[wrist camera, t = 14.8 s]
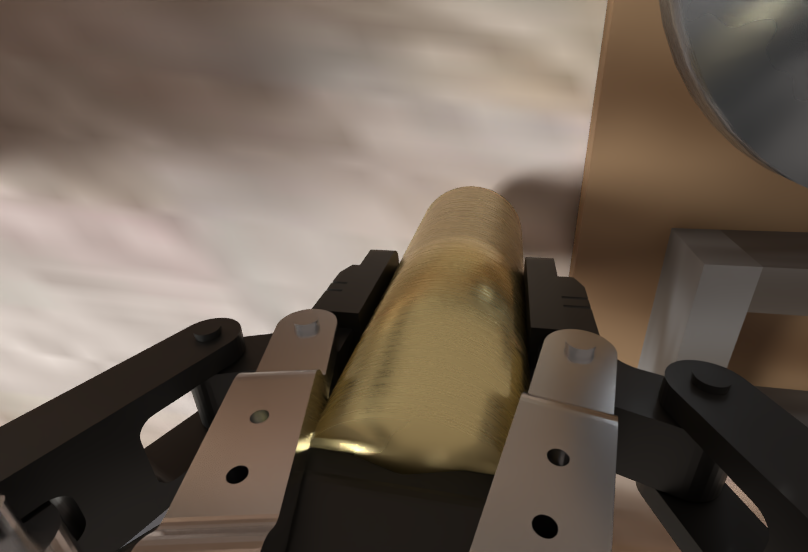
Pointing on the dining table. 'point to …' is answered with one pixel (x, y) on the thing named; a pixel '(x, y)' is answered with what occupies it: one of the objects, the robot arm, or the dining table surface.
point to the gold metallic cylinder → (440, 347)
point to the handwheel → (747, 74)
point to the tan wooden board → (686, 227)
